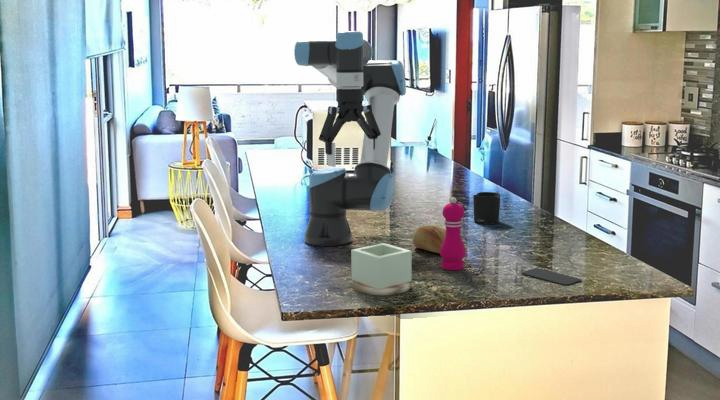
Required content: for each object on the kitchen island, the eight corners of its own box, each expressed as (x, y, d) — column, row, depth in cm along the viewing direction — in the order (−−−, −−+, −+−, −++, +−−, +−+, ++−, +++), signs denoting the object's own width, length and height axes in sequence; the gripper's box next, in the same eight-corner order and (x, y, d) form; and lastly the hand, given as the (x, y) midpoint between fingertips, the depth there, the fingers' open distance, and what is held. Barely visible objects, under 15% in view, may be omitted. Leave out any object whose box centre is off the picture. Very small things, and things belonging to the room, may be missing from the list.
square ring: (383, 271, 212) (383, 242, 210) (411, 280, 203) (411, 250, 202) (351, 279, 205) (351, 249, 204) (378, 289, 197) (378, 258, 195)
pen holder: (468, 220, 282) (468, 192, 280) (492, 218, 285) (492, 191, 283) (480, 225, 273) (480, 197, 272) (504, 223, 276) (505, 195, 274)
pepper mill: (463, 263, 226) (464, 195, 222) (467, 270, 218) (468, 199, 215) (438, 264, 225) (438, 195, 222) (441, 271, 218) (442, 200, 214)
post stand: (384, 275, 215) (384, 248, 214) (422, 287, 203) (422, 259, 202) (340, 285, 206) (340, 257, 204) (377, 299, 194) (377, 269, 193)
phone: (566, 285, 203) (519, 272, 214) (566, 288, 204) (519, 275, 215) (583, 279, 208) (536, 267, 219) (583, 282, 208) (536, 270, 219)
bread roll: (436, 259, 231) (437, 232, 230) (404, 249, 243) (404, 223, 242) (460, 253, 237) (461, 227, 235) (427, 244, 249) (428, 219, 247)
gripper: (321, 90, 209) (322, 169, 213) (392, 86, 224) (392, 160, 228) (305, 89, 214) (307, 166, 218) (375, 85, 230) (376, 158, 234)
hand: (350, 163), depth 223 cm, fingers open, 13 cm apart
